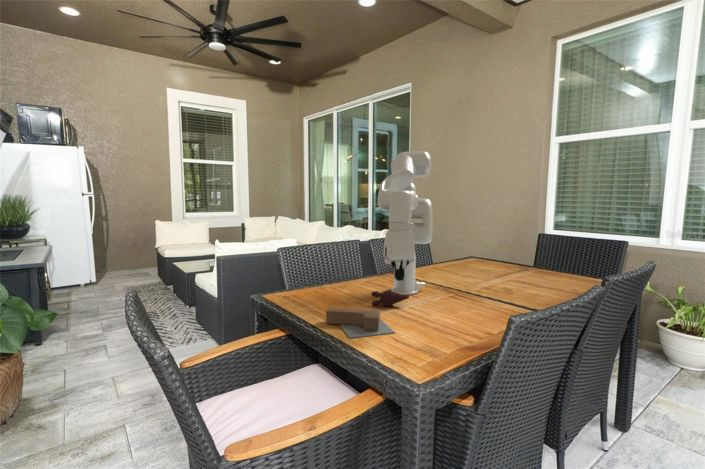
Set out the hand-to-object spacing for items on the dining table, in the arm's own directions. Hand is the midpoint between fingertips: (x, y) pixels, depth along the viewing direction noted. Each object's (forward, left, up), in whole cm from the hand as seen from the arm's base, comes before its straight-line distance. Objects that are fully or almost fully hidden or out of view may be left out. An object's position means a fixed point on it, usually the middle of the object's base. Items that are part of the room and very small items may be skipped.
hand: (399, 279), depth 123 cm
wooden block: (+9, +4, -12) cm, 15 cm away
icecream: (-3, -17, -15) cm, 23 cm away
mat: (+13, 0, -15) cm, 20 cm away
